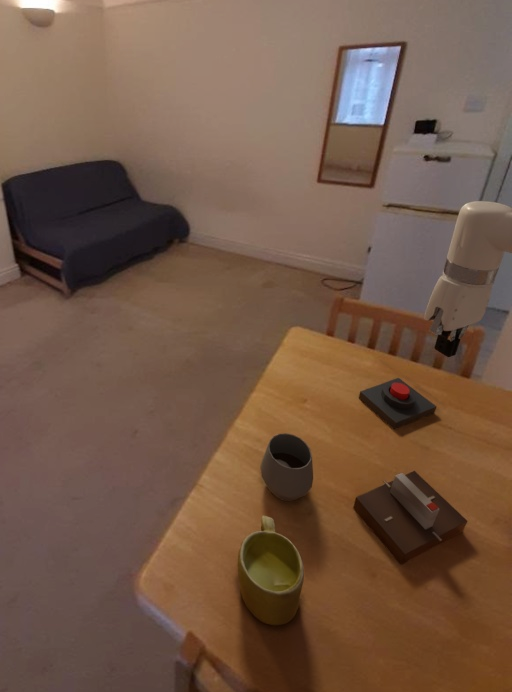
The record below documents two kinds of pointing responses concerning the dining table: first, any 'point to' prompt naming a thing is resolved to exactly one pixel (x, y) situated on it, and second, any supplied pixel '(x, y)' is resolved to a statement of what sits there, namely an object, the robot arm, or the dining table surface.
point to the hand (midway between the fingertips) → (444, 352)
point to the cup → (287, 467)
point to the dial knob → (414, 501)
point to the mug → (270, 575)
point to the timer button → (399, 391)
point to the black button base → (396, 404)
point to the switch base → (407, 520)
